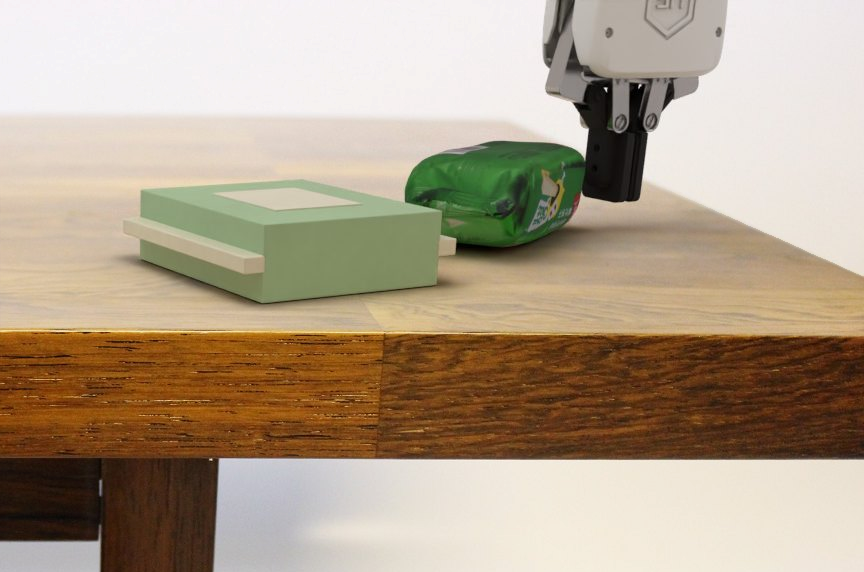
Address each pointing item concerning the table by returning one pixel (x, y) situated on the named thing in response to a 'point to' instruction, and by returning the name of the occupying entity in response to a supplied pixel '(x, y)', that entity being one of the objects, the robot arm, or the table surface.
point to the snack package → (500, 190)
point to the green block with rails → (289, 239)
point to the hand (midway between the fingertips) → (609, 198)
